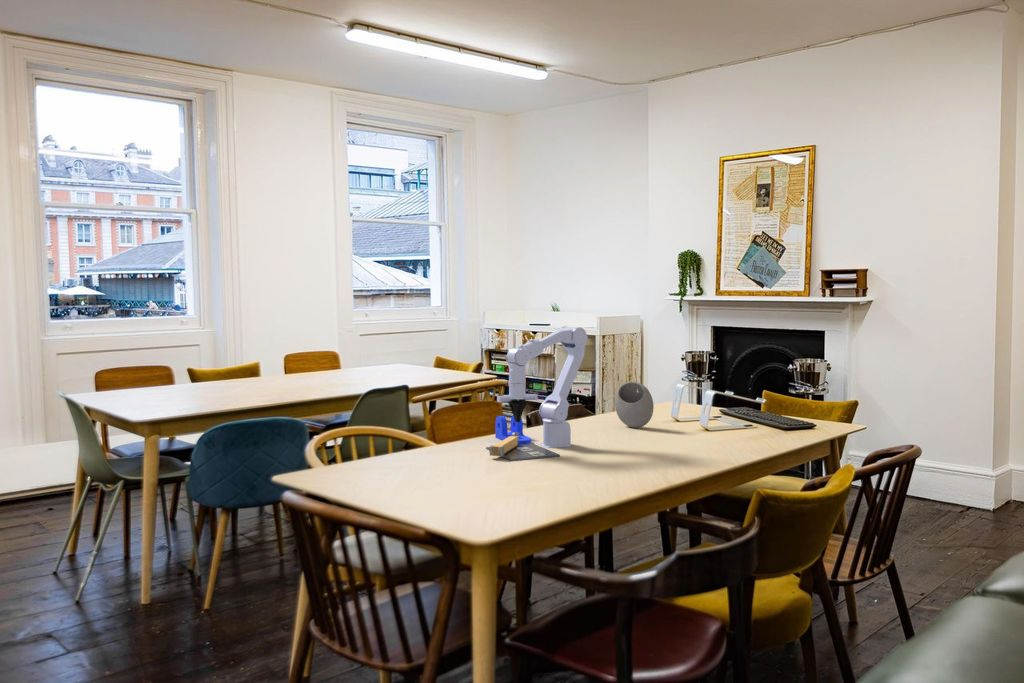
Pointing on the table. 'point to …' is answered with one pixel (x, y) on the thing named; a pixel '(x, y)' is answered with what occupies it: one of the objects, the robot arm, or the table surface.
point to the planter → (634, 404)
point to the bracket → (515, 427)
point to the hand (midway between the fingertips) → (517, 421)
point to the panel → (527, 451)
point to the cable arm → (503, 446)
